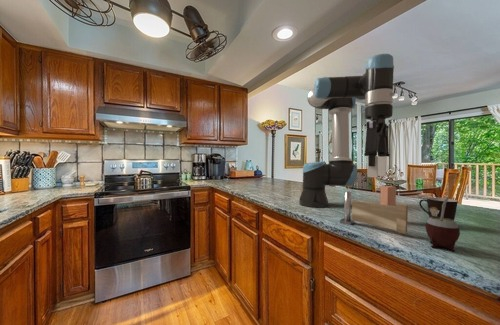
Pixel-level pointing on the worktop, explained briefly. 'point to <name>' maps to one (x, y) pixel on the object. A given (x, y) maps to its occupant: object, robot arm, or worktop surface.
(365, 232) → the worktop surface
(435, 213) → the coffee mug
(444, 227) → the mate gourd
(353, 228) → the worktop surface
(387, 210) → the gate
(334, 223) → the worktop surface
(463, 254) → the worktop surface
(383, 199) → the post
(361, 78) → the robot arm
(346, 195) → the hinge post
